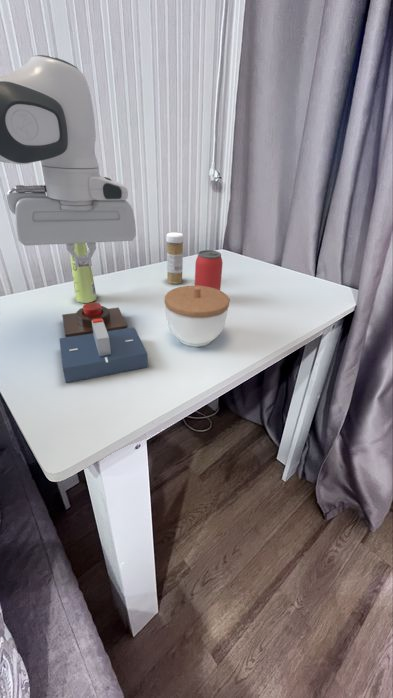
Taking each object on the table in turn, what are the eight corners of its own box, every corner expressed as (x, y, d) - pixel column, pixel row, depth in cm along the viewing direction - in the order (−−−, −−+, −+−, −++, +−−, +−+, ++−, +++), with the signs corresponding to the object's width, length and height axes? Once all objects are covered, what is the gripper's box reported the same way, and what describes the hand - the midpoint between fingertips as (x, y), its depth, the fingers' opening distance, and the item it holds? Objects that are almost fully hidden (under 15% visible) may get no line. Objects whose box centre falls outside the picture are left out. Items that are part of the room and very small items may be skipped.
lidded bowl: (201, 318, 77) (203, 272, 71) (237, 342, 68) (244, 292, 62) (153, 333, 70) (152, 283, 64) (188, 361, 62) (189, 308, 56)
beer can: (223, 303, 84) (228, 256, 78) (199, 306, 82) (202, 258, 75) (213, 293, 89) (216, 248, 83) (190, 296, 87) (191, 250, 81)
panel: (66, 385, 55) (62, 369, 53) (62, 350, 63) (59, 335, 61) (148, 369, 59) (148, 354, 58) (134, 338, 68) (133, 324, 66)
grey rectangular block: (111, 354, 57) (108, 336, 55) (99, 356, 57) (96, 337, 55) (104, 335, 63) (102, 317, 61) (93, 336, 62) (91, 319, 60)
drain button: (84, 318, 67) (83, 311, 66) (83, 311, 69) (81, 303, 68) (103, 316, 68) (102, 308, 67) (100, 309, 71) (99, 301, 70)
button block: (66, 344, 65) (63, 326, 63) (63, 323, 72) (60, 306, 70) (127, 334, 69) (126, 317, 67) (119, 316, 76) (117, 300, 74)
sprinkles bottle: (180, 278, 97) (181, 231, 90) (184, 284, 94) (185, 235, 86) (165, 279, 96) (164, 231, 89) (168, 285, 93) (167, 236, 85)
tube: (69, 301, 82) (54, 217, 71) (82, 293, 86) (70, 213, 75) (88, 305, 80) (76, 220, 69) (101, 297, 84) (91, 216, 73)
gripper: (2, 187, 50) (23, 276, 57) (136, 189, 57) (139, 267, 64) (5, 182, 55) (23, 264, 62) (128, 184, 62) (131, 257, 69)
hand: (83, 265), depth 63 cm, fingers closed
